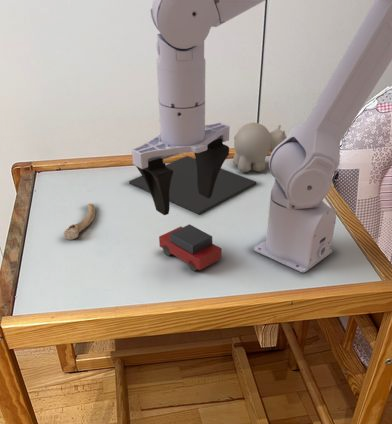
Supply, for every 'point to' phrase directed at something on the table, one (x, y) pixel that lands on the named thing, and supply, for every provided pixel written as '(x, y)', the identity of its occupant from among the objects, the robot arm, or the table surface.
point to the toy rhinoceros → (255, 146)
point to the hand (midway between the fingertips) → (184, 203)
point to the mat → (188, 187)
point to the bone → (80, 224)
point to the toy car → (190, 246)
